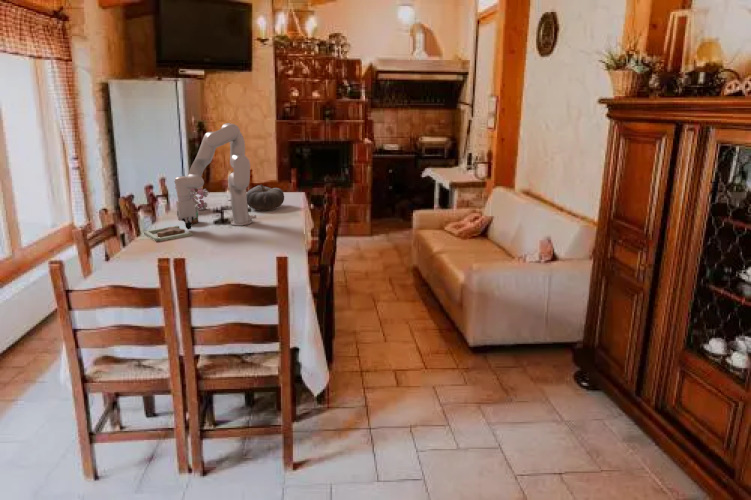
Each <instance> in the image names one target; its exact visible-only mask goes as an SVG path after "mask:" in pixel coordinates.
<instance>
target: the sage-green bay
mask: <svg viewBox="0 0 751 500" xmlns="http://www.w3.org/2000/svg"><path fill="white" fill-rule="evenodd" d="M168 227H169V226H167V227H161V228H155V229H154V228H153V229H149V230H144V231H143V234H144V235H145V234H146V235H147V236H146V235H145V236H146V237H148V236H149V237H151V238H152V239H154V240H155V241H160V242H164V241H163V240H165V241H169V240H168V239H171V240H175V238H176V239H181V238H185V237H186V236H187V237H190V236H193V232H192V231H189V232H185V233H183V234H177V235H172V236H166V237H161V238H158V236H156V235H154V234H157V233H156V232H161V231H165V229H164V228H168ZM171 227H174V228H179V229H181V228H180V225H178V224H177V225H173V226H171ZM151 233H152V234H151ZM149 237H148V238H149ZM180 237H181V238H180ZM151 238H150V239H151ZM152 239H151V240H152ZM154 240H153V241H154ZM155 241H154V242H155Z"/></svg>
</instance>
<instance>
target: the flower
mask: <svg viewBox="0 0 751 500" xmlns="http://www.w3.org/2000/svg"><path fill="white" fill-rule="evenodd" d="M173 182H174V183H175V180H174V181H173ZM174 188H175V189H176V185H175V187H174ZM190 192H191V195H193V196H194V197H192V199H193V202H194V205H196V206H198V208H199V210H201V209H203V210H206V209H207V208H208V202H205V201H204V200H203V199H204V198H207V197H208V196H209V194H210V192H209V191H208V190H207V188H203V189H202V187H201V188H198V189H197V191H196V189H190ZM197 195H199V197H198V196H197ZM198 200H199V201H198Z"/></svg>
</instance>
